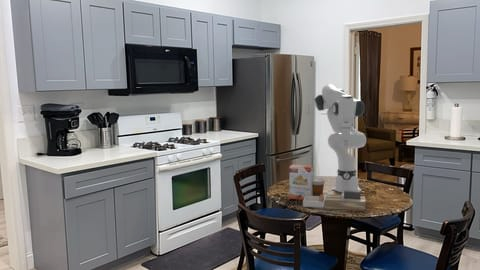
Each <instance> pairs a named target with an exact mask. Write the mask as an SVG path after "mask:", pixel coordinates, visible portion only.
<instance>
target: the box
mask: <svg viewBox="0 0 480 270" xmlns="http://www.w3.org/2000/svg"><path fill="white" fill-rule="evenodd" d="M319 197H320V196H307V195H305V198H304V200H302V207H304V208H317V209H326V208H325V198H326V195H324V200H323V202H320V201H319Z"/></svg>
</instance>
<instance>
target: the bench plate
mask: <svg viewBox="0 0 480 270" xmlns="http://www.w3.org/2000/svg"><path fill="white" fill-rule="evenodd" d="M325 197H326V198H325V208H324V209H331V210H332V209H333V210H348V211H364V212H365V211H366V196H365V195H360V199H345V198H344V201H342V194H333V193H332V194H331V193H328V194H327V193H326V195H325Z"/></svg>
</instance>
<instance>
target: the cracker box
mask: <svg viewBox="0 0 480 270" xmlns="http://www.w3.org/2000/svg"><path fill="white" fill-rule="evenodd" d="M314 171H315V169H314V165H304V164H303V165H302V164H301V165H300V164H291V165H290V166H289V199H291V200H300V201H303V200H304V198H305V195H307V196H313V185H312V182H313V181H314V177H315V175H314V174H315V172H314Z"/></svg>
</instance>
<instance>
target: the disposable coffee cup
mask: <svg viewBox="0 0 480 270" xmlns="http://www.w3.org/2000/svg"><path fill="white" fill-rule="evenodd" d="M312 185H313V196H320V195H321V194H324V186H325V179H324V178H320V177H319V178H316V177H315V178H314V181H313V182H312Z"/></svg>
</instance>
